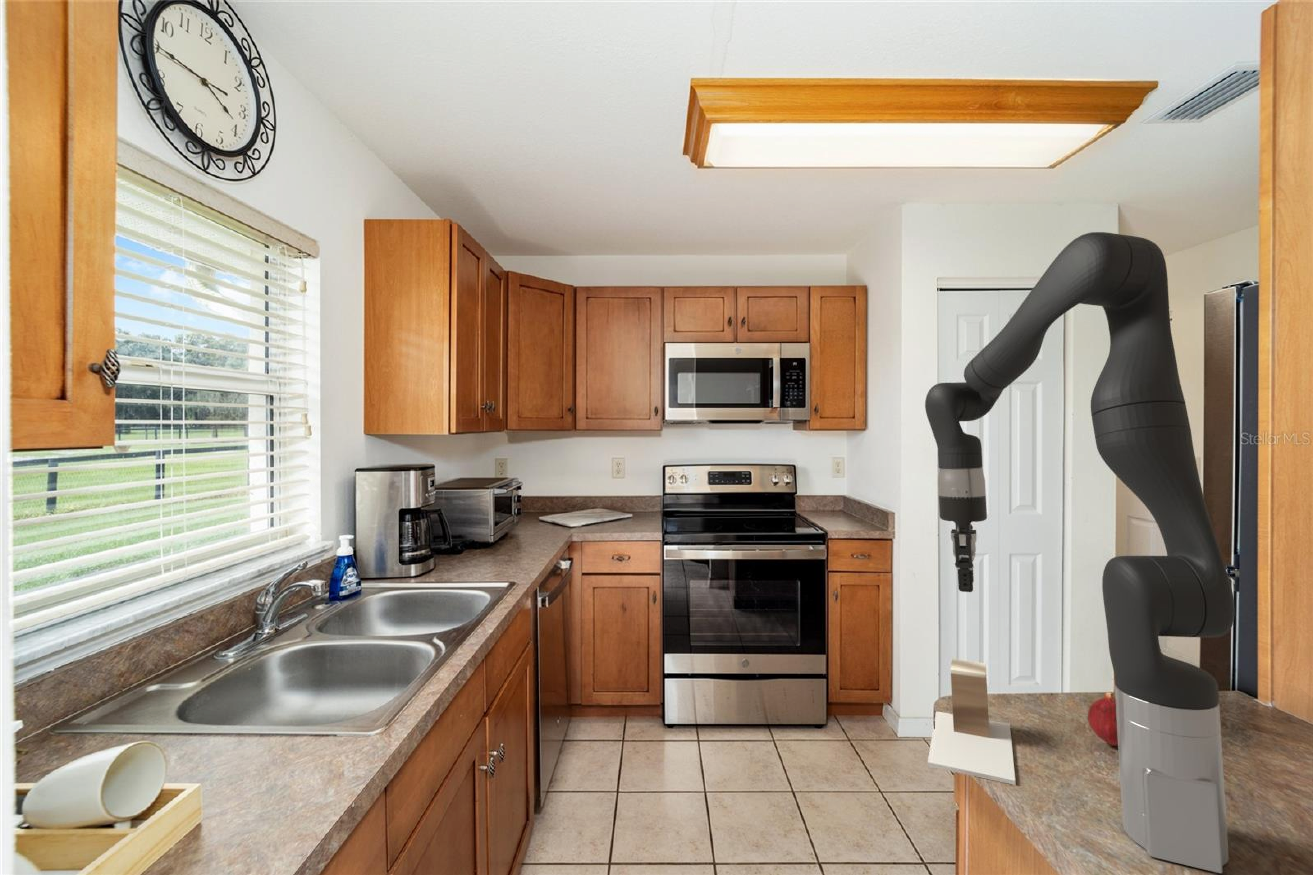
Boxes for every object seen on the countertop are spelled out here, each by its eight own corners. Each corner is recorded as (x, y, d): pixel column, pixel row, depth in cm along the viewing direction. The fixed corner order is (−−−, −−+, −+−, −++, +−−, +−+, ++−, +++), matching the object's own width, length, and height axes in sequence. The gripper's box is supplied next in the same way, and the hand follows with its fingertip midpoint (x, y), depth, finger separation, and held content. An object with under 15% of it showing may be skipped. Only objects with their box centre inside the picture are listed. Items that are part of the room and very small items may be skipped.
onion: (1144, 758, 84) (1141, 703, 85) (1098, 752, 86) (1095, 699, 86) (1126, 738, 90) (1123, 687, 90) (1083, 734, 92) (1080, 684, 92)
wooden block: (989, 738, 91) (985, 674, 91) (953, 731, 93) (950, 669, 93) (988, 724, 95) (985, 663, 95) (955, 718, 97) (951, 659, 98)
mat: (1015, 785, 79) (1015, 780, 79) (927, 766, 85) (927, 762, 85) (1009, 727, 95) (1009, 724, 95) (936, 714, 100) (936, 711, 100)
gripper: (985, 497, 95) (991, 598, 94) (985, 490, 107) (990, 579, 107) (935, 496, 98) (940, 594, 98) (940, 490, 111) (945, 576, 110)
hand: (966, 586), depth 102 cm, fingers open, 6 cm apart
